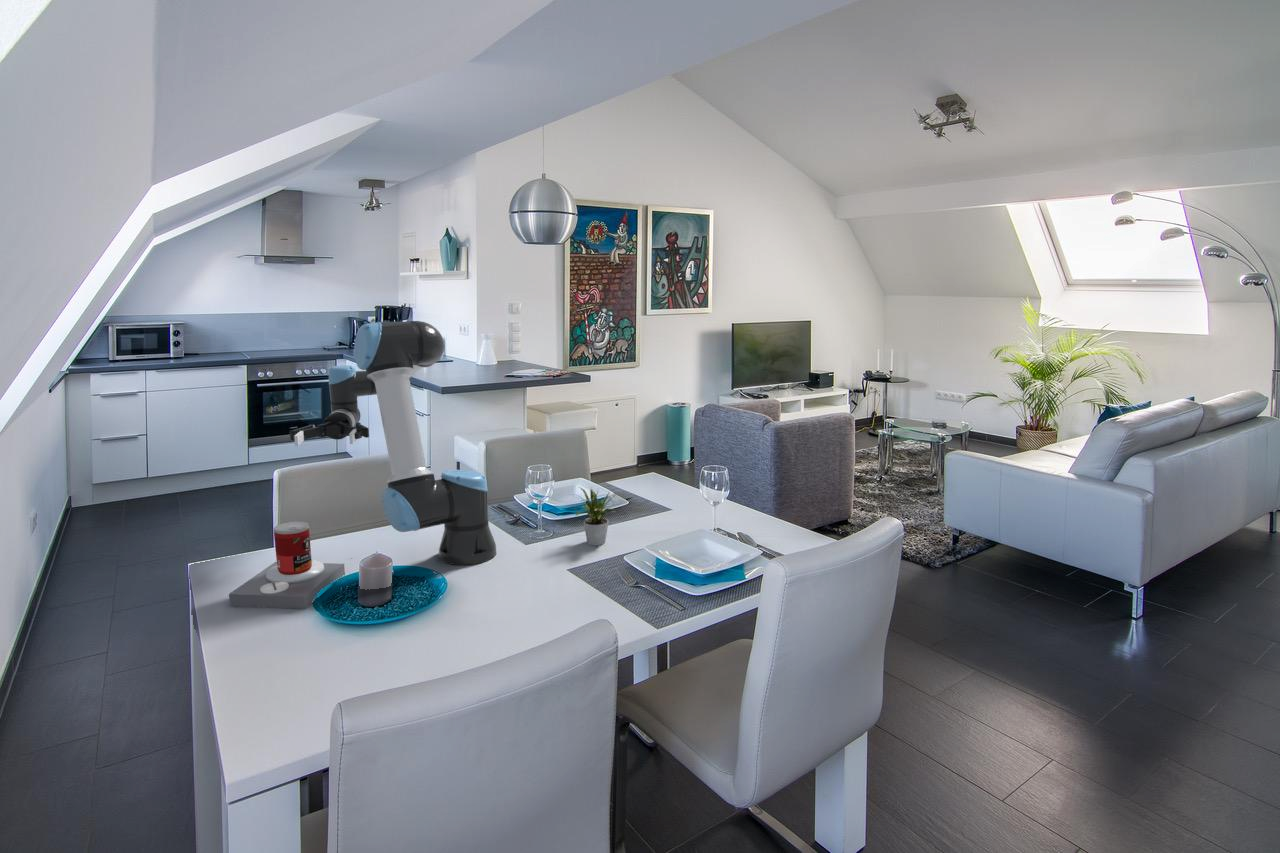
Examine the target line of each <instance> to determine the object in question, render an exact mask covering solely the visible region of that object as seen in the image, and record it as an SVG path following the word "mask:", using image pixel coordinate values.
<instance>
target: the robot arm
mask: <svg viewBox="0 0 1280 853" xmlns="http://www.w3.org/2000/svg"><path fill="white" fill-rule="evenodd" d="M353 352H354V361H355V363H356V367H357V368H358V369H359V370H357V371H356V367H355V366H353V365H349V364H348V365H333V366H331V367H330V368H329V369H328V388H329V395H330V396H329V397H330V410H331V413H329V415H328V416H326V418H325V419H324V421H323V423H321V424H318V425H316V426H315V424H314V423H311V424H309V425H306V426H303V427H299V428H295V429H292V430H289V436H290V438H289V439H290V440H291V441H293V442H294V446H295V447H300V445H301V444H302V443H303V442H304V441H305V440H308V439H313V438H326V437H328V438H329V439H332V440H335V441H336V440H343V439H344V438H346V437H349V444H350V445H354V443H355V442H356V441H357V440H359V439H362V438H365V439H366V438H369V437H370V430H369V429H370V428H369V427H367V426H366V425H362V424H361V422H360V420H361V417H362V416H361V415H362V414H361V411H360V410H359V406H358V397H365V396H374V395H375V396H377V402H378V407H379V412H380V416H381V421H382V428H383V433H384V439H385V443H386V450H387V455H388V460H389V466H390V470H391V475H390V477H389V479H388V480H387V482H386V483H387V488H385V489H384V490H383V491H382V495H381V498H382V500H381V504H382V508H383V512H384V514H385V517H386V520H387V521H388V522H389V524H390V525H391V527H392V528H393V529H394V530H396V531H397V532H400V533H407V532H416V531H419V530H423V529H428V528H432V527H435V526H440V525H444V531H443V533H442V537H441V540H440V544H439V548H438V556H439V557H438V558H439V559H440V561H442V562H443V563H447V564H448V565H450V564H451V565H456V566H457V565H459V566H461V565H462V566H464V565H475V564H481V563H483V562H487V561H489V560H492V559H493V558H494V557H495V556H496V555H497V545H496V541H495V539H494V535H493V534H492V531H491V528H490V526H489V524H490V523H489V500H488V497H489V496H488V492H489V489H488V483H487V478H486V476H485V475H484V474H483V473H480V472H478V471H475V470H466V469H448V470H445V471H443V472H442V473H441V475H440V479H435V475H434V474H435V473H434V472H433V471H431V470H430V469H428V467H427V464H426V459H425V458H426V457H425V455H424V449H423V443H422V438H421V432H420V428H419V427H420V426H419V423H418V417H417V412H416V411H417V410H416V407H415V402H414V396H413V390H412V387H411V381H410V378H411V377H412V376H414V375H416V373H418V372H419V371H421V370H422V369H423V368H429V367H432V366H433V365H435V364H436V363H437V362H438V361H440V359H441V358H442V356H443V354H444V352H445V342H444V337H443V336H442V334H441V332H440V331H439V330H438V329H437V328H436V327H435V326H434V325H432V324H430V323H427V322H426V321H420V320H411V321H376V322H371V323H364V324H362V325H361V326H360V327H359V328H358V330H357V332H356V334H355V339H354V350H353Z"/></svg>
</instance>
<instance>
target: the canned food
mask: <svg viewBox="0 0 1280 853" xmlns="http://www.w3.org/2000/svg"><path fill="white" fill-rule="evenodd" d="M273 538H274V547H275V558H276V562H277V569H278V571H279V573H281V574H285V575H295V574H300V573H304V572H306V571H308V570H310V569H311V566H312V560H313V559H312V549H311V537H310V526H309V523H308V522H304V521H287V522H284V523H280V524H277V525H276V526H275V527H273Z"/></svg>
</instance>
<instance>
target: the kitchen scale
mask: <svg viewBox="0 0 1280 853" xmlns="http://www.w3.org/2000/svg"><path fill="white" fill-rule="evenodd" d="M343 575H344V576H346V571H345V563H330V562H326V563H325V562H322V561H319V560H314V559H312V566H311V569H310V570H308V571H306V572H304V573H300V574H295V575H285V574H281V573H279V571H278V569H277V561H275V562H273V563H271V564H270V565H268V566H267V567H266V568H264V569H263V570H261V571H260V572H259V573H257V574H255V575H254V576H253V577H251V578H250V579H248V580H247V581H246V582H244V583H243V584H241V585H240V586H238V587H237V588H236V589H234V590H232V591H231V592H230V593H228V600H229V607H236V608H239V607H240V608H241V607H242V608H244V607H245V608H269V609H270V608H271V609H273V608H274V609H299V610H306V609H307V608H309V606H311V605H312V604H313V603H312V601H313V599H314V597H315V596H316V595H317V593H318V592H319V591H320V590H321V589H322V588H324V587H325V586H327V585H328V584H330V583H331V582H333V581H334V580H336V579H338V578H340V577H342V576H343ZM344 576H343V577H344ZM343 577H342V578H343Z"/></svg>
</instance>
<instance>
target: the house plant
mask: <svg viewBox="0 0 1280 853" xmlns="http://www.w3.org/2000/svg"><path fill="white" fill-rule="evenodd" d="M578 488H579V489H580V490H581V491H582V493H583V494H584V497H585V499H586V500H584V498H582V500H583V502H584V503H583V505H581V507H582V508H584V509H585V511H584V510H581V511H580V510H579V509H577V508H575V510H576V511H578V512H576V514H575V516H578V515H580V514H582V515H584V513H586V514H587V515H589V517H587V518H585V519H584V520H583V526H584V532H585V537H586V542H587V544H588V545H591V546H602V545H603V544H605V543H606V541H607V532H608V528H609V519H607V518H606V517H607V516H609V514H612V513H617V511H615V509H614V508H605V507H606V506H607V504H609V503H610V501H611V500H612V499H613V498H615V497H616V496H618V495H619V493H617V494H615V495H613V496H612V497H611V498H610V499H609V500H607V499H608V496H609V494H610V491H608V493H607V495H605V498H604V499H601V500H600V501H598V494H599V489H600V488H598V490H597V493H596V492H595V491H594V490H593V489H592V487H591V486H590V487H589V491H590V498H589V496H588V494H587V492H586V490H585V489H584V488H582V487H580V486H578ZM570 495H573V496H575V494H573V493H570ZM576 496H577V497H575V498H577V499H578V497H580V498H581V496H580V495H576ZM606 500H607V501H606ZM610 510H612V511H611V512H608V511H610ZM607 512H608V513H607ZM606 513H607V514H606ZM605 514H606V515H605ZM604 515H605V517H604Z"/></svg>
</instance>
